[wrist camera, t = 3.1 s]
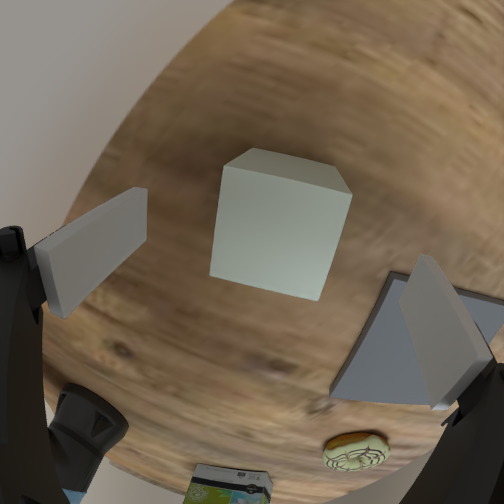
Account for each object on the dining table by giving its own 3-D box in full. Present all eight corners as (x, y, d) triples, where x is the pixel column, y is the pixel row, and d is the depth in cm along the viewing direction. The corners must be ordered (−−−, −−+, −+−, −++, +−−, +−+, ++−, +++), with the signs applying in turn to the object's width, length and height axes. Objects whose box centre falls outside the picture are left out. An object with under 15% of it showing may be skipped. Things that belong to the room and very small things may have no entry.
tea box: (267, 470, 44) (254, 534, 31) (273, 484, 48) (263, 539, 35) (195, 461, 47) (176, 519, 34) (209, 477, 52) (194, 528, 39)
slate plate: (329, 388, 30) (329, 397, 29) (390, 271, 22) (394, 279, 21) (437, 398, 29) (439, 404, 27) (507, 301, 21) (512, 308, 20)
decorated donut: (378, 421, 32) (380, 443, 29) (394, 444, 35) (396, 463, 32) (311, 439, 36) (310, 460, 33) (338, 460, 39) (337, 478, 36)
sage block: (239, 223, 23) (209, 275, 16) (252, 147, 20) (223, 165, 13) (314, 240, 22) (317, 301, 15) (335, 166, 20) (352, 195, 12)
